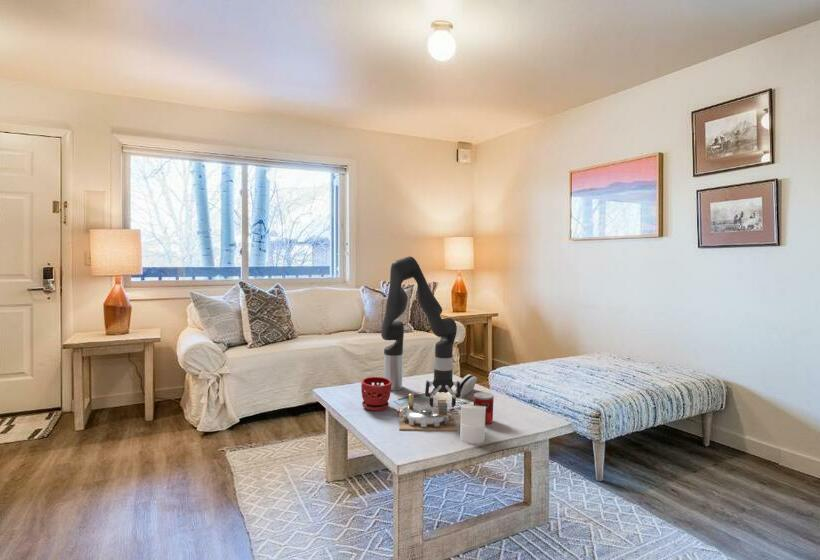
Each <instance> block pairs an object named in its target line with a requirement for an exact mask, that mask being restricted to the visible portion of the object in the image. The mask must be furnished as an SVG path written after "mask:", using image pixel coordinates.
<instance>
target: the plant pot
mask: <svg viewBox="0 0 820 560" xmlns="http://www.w3.org/2000/svg"><path fill="white" fill-rule="evenodd" d="M391 386H392V382H391V380H389V379H387V378H384V376H383V377H381V376H369V377H365V378H363V379H362V380H361V385H360V387H361V388H360V389H361V396H362V397H361V398H362V400H363V401H362V402H361V406H362V407H363V408H364V409H365V410H367V411H372V412H373V411H379V412H380V411H383V410H385V409H387V408H388V407H389V404H390V402H389V399H390V398H391V397H390V396H391V392H392V390H391Z"/></svg>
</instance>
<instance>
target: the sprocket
mask: <svg viewBox="0 0 820 560" xmlns="http://www.w3.org/2000/svg"><path fill="white" fill-rule="evenodd" d="M404 409H405V410H402V411H401V417H402V420H403V421H404V422H405V421H407V422H409V424H410V425H420V426H421V427H427V426H434V427H438V426H440V425H441V424H448V423H449V420H451V418H452V417H453V414H452V412H451V413H450V410H451V409H450V410H448V409H449V408H447V415H439V413H438V405H433V407H431V406H430V404H429V403H426V404H419V403H418V404H414V393H412V392H411V393H408V406H405V407H404Z"/></svg>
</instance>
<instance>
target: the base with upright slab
mask: <svg viewBox="0 0 820 560" xmlns="http://www.w3.org/2000/svg"><path fill="white" fill-rule="evenodd" d="M473 405H474V404H473ZM473 405H471V404H470V405H469V404H461V405H460V430H459V431H460V433H459V439H460V440H461V441H462V442H464V443H467V444H472V445H473V444H475V445H476V444H481V443H484V441H485V440H486V439H485V438H486V436H485V435H486V425H485V413H486V407H485V406H473Z"/></svg>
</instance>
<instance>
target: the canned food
mask: <svg viewBox="0 0 820 560" xmlns="http://www.w3.org/2000/svg"><path fill="white" fill-rule="evenodd" d="M473 406H485V407H486V413H485V426H486V425H490V424H493V423H492V422H493V419H494V418H493V417H494V394H492V393H490V392H488V391H487V392H486V391H478V392H475V393H474V394H473Z"/></svg>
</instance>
